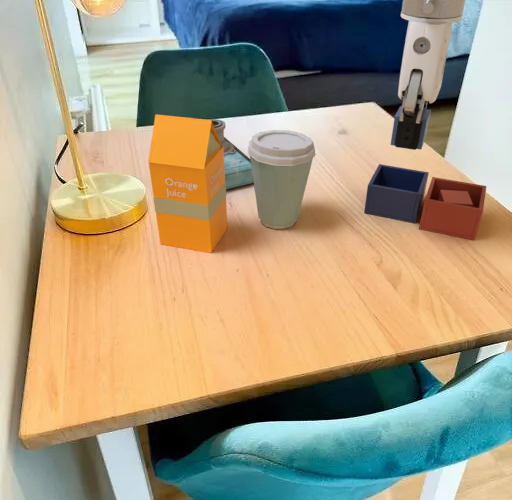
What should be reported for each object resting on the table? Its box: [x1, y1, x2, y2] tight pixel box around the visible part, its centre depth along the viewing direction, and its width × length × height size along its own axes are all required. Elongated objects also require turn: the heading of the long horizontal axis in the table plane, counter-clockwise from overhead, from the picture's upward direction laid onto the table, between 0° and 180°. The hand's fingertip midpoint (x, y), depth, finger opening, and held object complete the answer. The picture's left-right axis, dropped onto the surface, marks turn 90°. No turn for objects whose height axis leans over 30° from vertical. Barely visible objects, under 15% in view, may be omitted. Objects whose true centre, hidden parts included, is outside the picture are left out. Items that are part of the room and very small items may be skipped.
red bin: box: [418, 176, 487, 241], centre depth 84 cm, size 9×9×6 cm
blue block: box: [389, 105, 432, 151], centre depth 73 cm, size 4×4×4 cm
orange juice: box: [147, 113, 229, 254], centre depth 77 cm, size 8×9×20 cm
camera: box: [211, 118, 254, 190], centre depth 98 cm, size 16×10×10 cm
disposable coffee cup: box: [247, 129, 316, 230], centre depth 82 cm, size 11×11×15 cm
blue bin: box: [363, 163, 429, 224], centre depth 88 cm, size 9×9×6 cm
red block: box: [438, 190, 473, 207], centre depth 83 cm, size 4×4×4 cm
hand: (408, 139), depth 74 cm, fingers closed on blue block, 4 cm apart
